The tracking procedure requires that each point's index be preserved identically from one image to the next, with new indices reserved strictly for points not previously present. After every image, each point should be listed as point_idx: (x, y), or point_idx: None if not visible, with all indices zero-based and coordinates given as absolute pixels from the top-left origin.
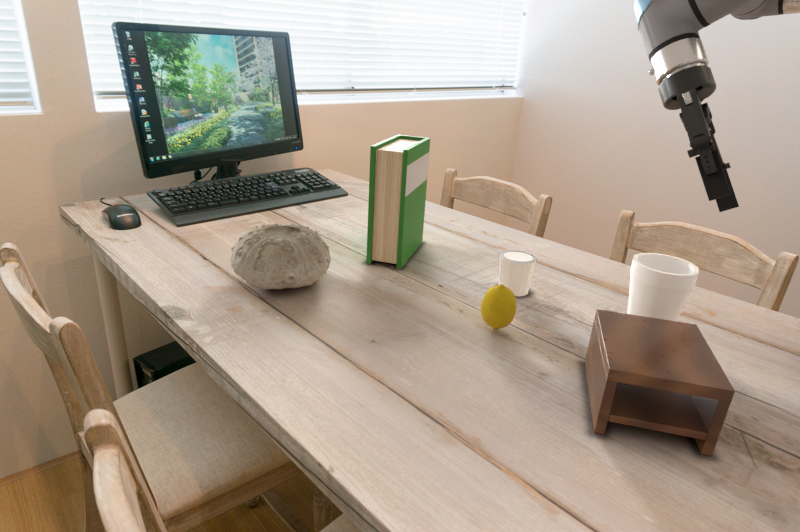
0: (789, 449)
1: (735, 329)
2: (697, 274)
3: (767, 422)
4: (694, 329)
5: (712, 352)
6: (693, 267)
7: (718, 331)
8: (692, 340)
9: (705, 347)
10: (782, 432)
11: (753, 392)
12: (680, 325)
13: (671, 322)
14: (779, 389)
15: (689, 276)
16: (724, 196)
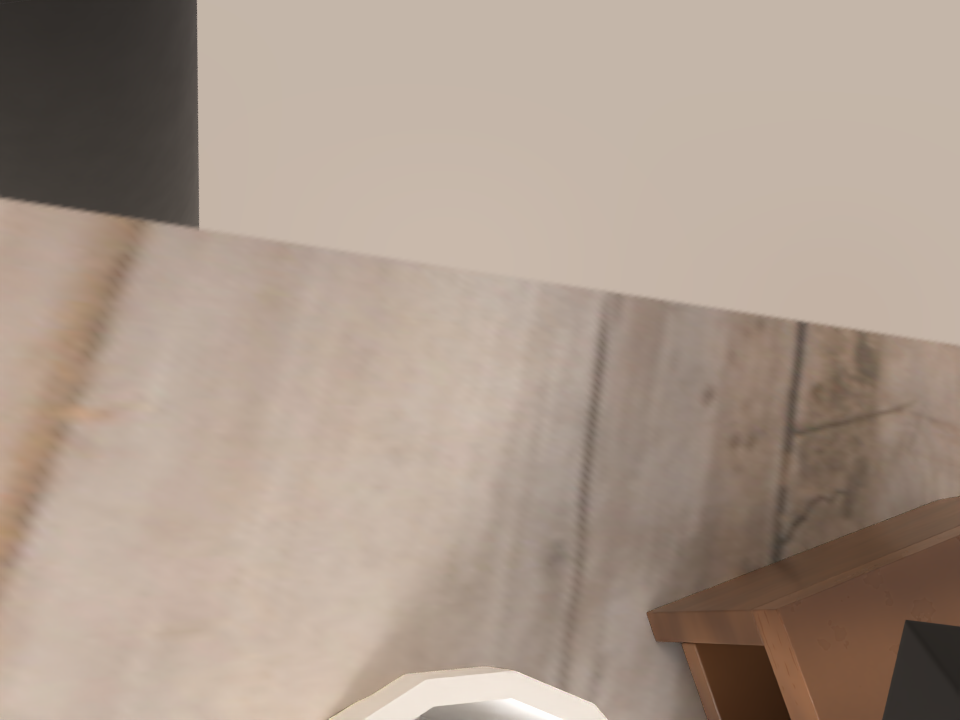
0: (786, 326)
1: (11, 423)
2: (522, 674)
3: (703, 364)
4: (829, 612)
5: (956, 536)
6: (419, 714)
7: (90, 497)
8: (924, 609)
9: (942, 561)
10: (724, 332)
11: (561, 387)
12: (832, 669)
13: (835, 709)
14: (486, 309)
15: (600, 714)
16: (892, 685)
